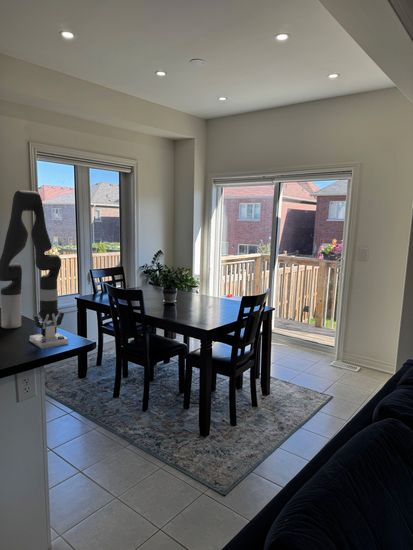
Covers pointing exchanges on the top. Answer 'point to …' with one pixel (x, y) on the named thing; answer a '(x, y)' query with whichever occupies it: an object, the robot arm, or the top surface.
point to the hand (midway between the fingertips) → (48, 335)
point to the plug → (49, 331)
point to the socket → (48, 341)
